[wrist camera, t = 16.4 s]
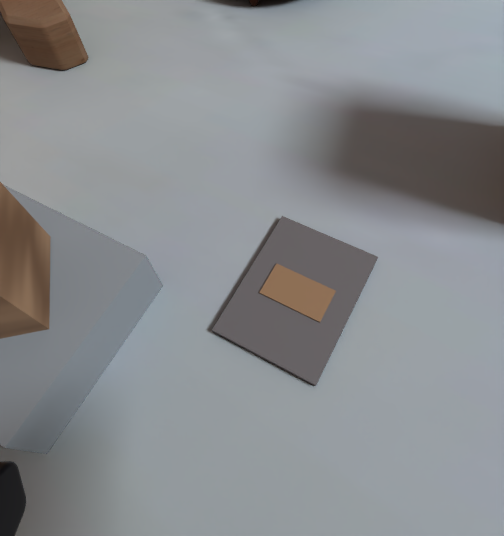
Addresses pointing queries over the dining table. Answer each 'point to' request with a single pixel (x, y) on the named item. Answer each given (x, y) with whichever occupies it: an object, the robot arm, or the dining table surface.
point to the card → (296, 299)
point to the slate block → (70, 329)
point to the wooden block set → (44, 32)
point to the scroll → (253, 2)
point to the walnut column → (22, 270)
